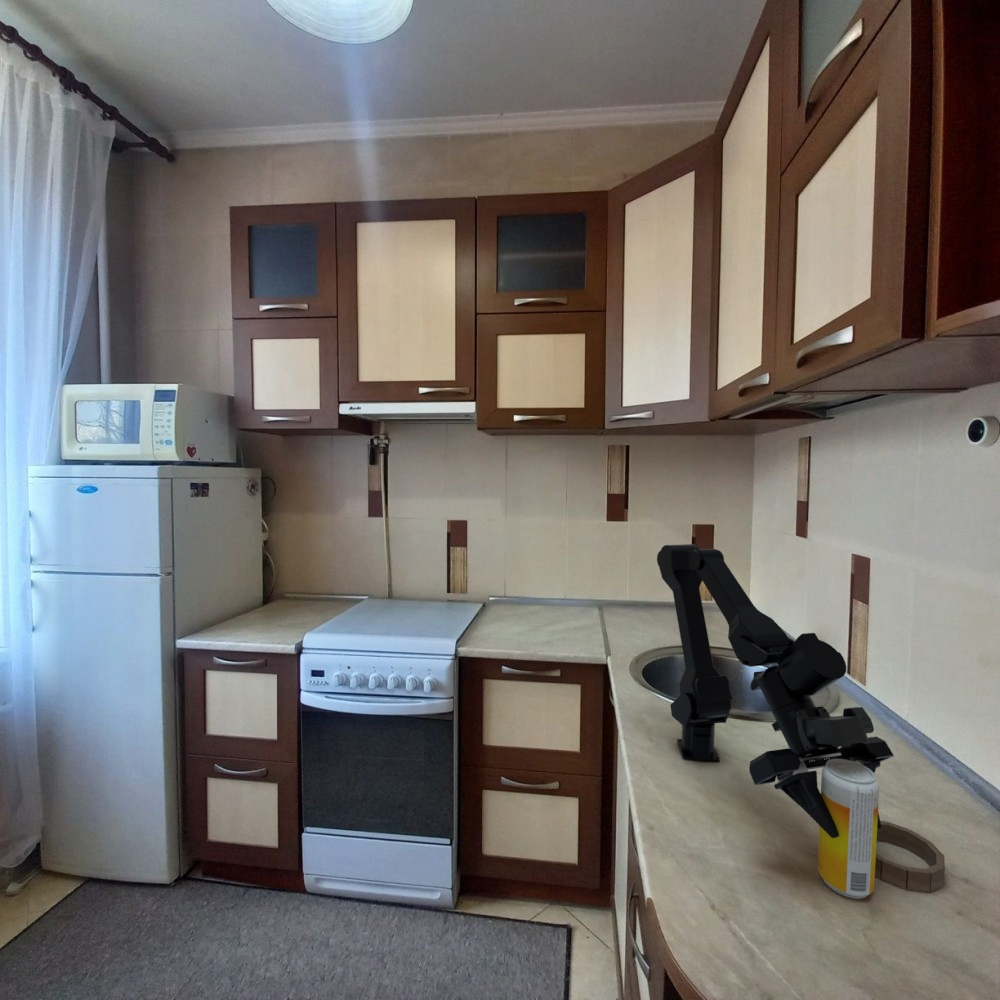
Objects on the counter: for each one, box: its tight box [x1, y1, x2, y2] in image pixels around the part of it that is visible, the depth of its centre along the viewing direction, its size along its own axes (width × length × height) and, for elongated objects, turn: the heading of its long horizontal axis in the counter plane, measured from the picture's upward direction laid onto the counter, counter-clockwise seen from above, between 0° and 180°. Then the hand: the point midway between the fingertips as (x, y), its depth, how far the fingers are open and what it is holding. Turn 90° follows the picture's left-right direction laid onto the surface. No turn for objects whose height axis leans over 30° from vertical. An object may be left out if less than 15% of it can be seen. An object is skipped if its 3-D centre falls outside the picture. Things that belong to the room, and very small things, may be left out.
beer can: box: [817, 758, 880, 900], centre depth 68 cm, size 6×6×15 cm
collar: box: [875, 820, 946, 893], centre depth 72 cm, size 10×10×2 cm
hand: (857, 833), depth 66 cm, fingers closed on beer can, 6 cm apart
